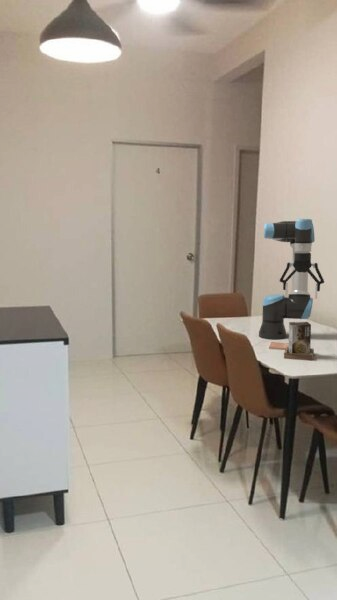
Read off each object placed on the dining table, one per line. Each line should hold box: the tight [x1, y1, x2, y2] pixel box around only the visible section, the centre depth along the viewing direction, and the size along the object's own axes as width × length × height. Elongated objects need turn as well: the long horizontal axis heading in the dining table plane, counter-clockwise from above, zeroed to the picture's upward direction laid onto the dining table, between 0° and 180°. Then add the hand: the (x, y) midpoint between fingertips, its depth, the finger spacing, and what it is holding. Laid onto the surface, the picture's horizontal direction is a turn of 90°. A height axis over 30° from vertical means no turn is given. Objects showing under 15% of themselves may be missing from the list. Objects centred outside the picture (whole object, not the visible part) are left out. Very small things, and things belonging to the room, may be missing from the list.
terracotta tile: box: [268, 341, 289, 351], centre depth 265 cm, size 11×11×1 cm
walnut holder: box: [283, 347, 315, 361], centre depth 248 cm, size 13×13×2 cm
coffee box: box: [288, 321, 312, 355], centre depth 247 cm, size 9×6×16 cm
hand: (301, 297), depth 243 cm, fingers open, 13 cm apart
